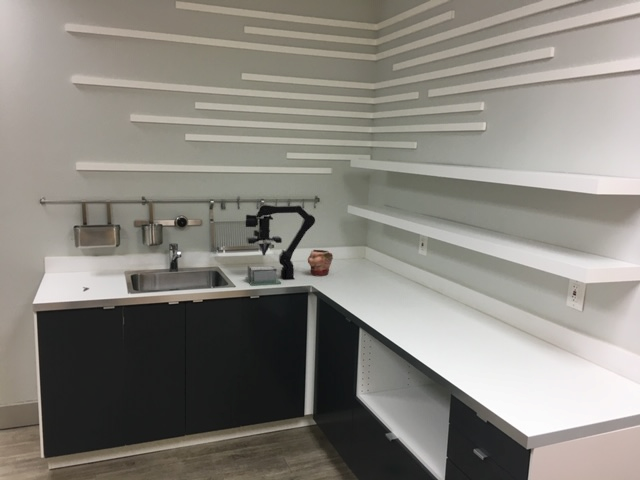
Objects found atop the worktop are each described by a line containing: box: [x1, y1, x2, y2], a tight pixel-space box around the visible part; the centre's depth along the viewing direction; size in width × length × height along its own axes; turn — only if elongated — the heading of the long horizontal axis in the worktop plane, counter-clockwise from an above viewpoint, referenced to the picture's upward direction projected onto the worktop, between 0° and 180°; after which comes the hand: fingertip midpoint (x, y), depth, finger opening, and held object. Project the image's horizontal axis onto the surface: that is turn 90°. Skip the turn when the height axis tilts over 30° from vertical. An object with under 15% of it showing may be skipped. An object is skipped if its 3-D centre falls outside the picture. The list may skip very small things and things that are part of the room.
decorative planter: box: [307, 249, 334, 277], centre depth 302 cm, size 20×12×14 cm, turn 144°
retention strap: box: [249, 266, 276, 270], centre depth 280 cm, size 13×4×1 cm, turn 110°
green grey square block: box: [245, 265, 282, 287], centre depth 281 cm, size 16×16×8 cm
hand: (263, 255), depth 287 cm, fingers closed
